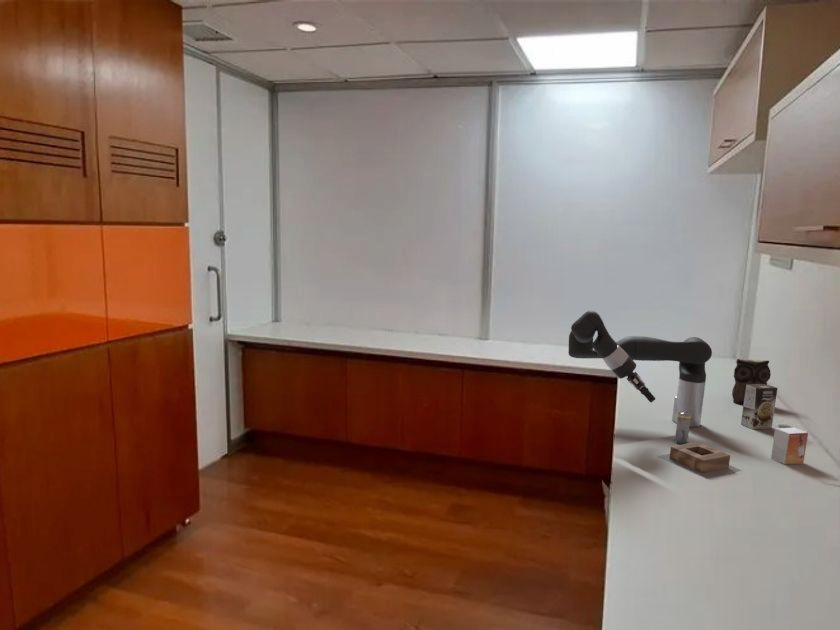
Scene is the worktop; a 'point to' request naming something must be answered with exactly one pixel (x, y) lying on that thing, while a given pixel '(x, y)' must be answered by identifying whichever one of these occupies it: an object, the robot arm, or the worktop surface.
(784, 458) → the small box
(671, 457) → the socket block
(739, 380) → the owl
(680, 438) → the gold-rimmed metal cylinder
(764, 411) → the coffee box
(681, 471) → the worktop surface
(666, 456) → the base
